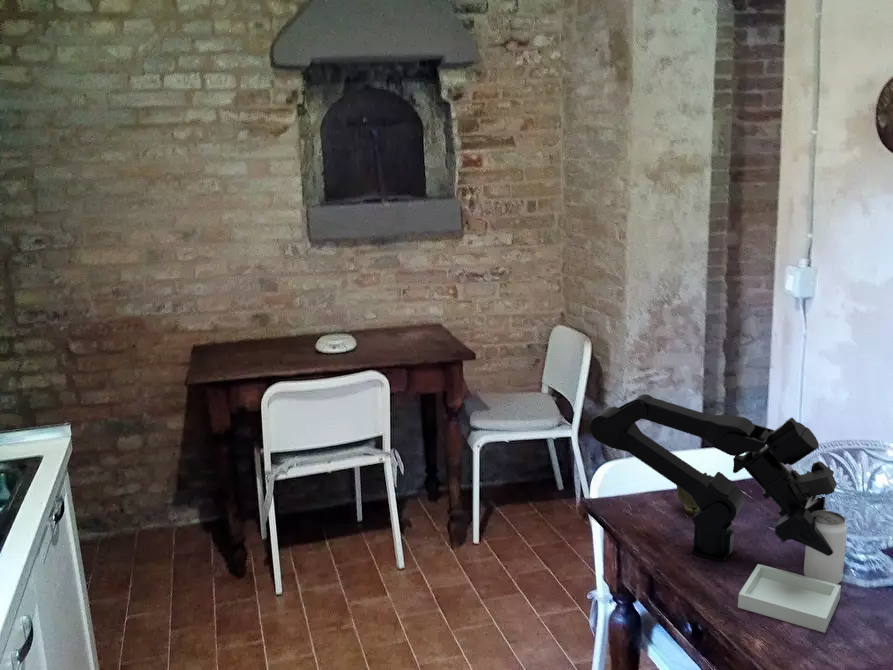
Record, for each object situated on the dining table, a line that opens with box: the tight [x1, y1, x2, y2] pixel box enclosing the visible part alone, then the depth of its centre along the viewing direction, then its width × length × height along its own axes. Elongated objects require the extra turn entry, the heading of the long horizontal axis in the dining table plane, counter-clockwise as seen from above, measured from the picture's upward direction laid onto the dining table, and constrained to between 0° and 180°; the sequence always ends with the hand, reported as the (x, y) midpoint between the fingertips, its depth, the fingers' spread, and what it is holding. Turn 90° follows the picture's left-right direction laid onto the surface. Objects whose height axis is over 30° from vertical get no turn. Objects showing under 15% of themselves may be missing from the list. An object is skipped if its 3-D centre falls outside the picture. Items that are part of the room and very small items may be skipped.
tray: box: [737, 563, 842, 634], centre depth 145 cm, size 14×12×3 cm
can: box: [803, 509, 848, 585], centre depth 152 cm, size 6×6×12 cm
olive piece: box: [676, 472, 712, 515], centre depth 180 cm, size 8×7×8 cm
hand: (833, 546), depth 151 cm, fingers closed on can, 6 cm apart
